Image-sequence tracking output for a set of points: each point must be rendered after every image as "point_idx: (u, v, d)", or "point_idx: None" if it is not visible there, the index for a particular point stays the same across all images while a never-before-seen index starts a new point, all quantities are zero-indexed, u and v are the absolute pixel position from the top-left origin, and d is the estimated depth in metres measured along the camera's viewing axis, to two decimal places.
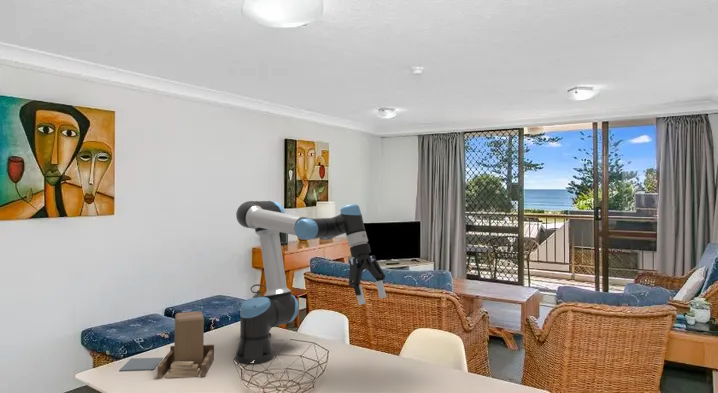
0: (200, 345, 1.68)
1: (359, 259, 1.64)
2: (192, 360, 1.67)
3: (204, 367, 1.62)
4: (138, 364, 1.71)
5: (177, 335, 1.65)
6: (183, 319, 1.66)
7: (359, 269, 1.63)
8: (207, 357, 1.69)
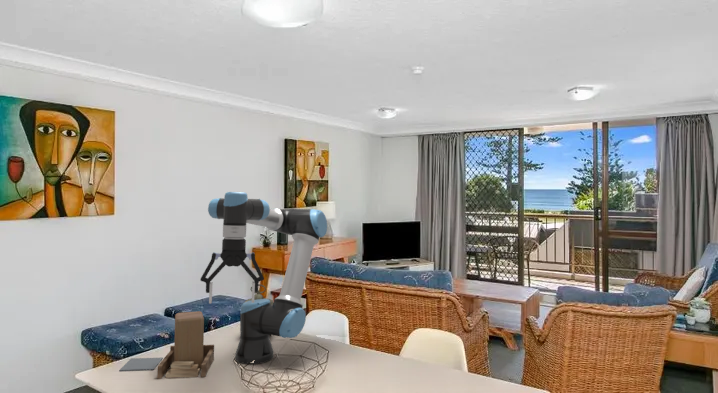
0: (200, 345, 1.68)
1: (222, 255, 1.47)
2: (192, 360, 1.67)
3: (204, 367, 1.62)
4: (138, 364, 1.71)
5: (177, 335, 1.65)
6: (183, 319, 1.66)
7: None
8: (207, 357, 1.69)
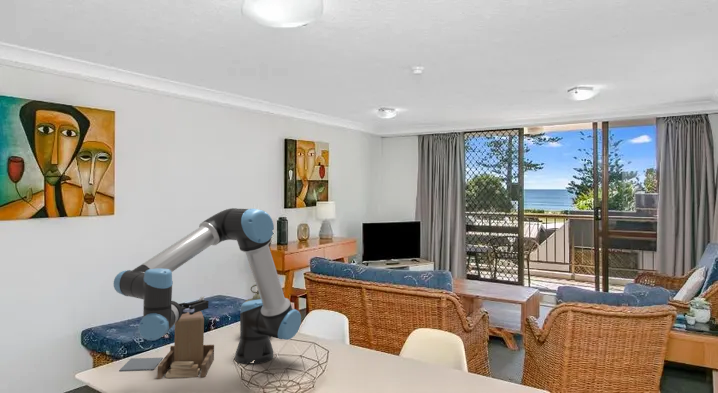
0: (200, 345, 1.68)
1: None
2: (192, 360, 1.67)
3: (204, 367, 1.62)
4: (138, 364, 1.71)
5: (177, 335, 1.65)
6: (183, 319, 1.66)
7: None
8: (207, 357, 1.69)
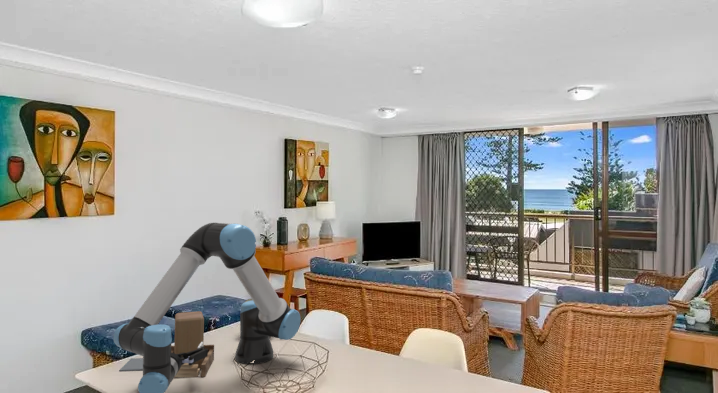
0: None
1: None
2: None
3: (204, 367, 1.62)
4: (138, 364, 1.71)
5: (177, 335, 1.65)
6: (183, 319, 1.66)
7: None
8: (207, 357, 1.69)
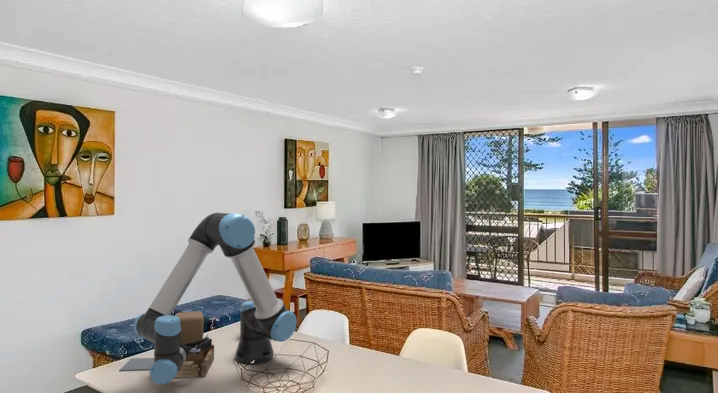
0: None
1: None
2: (192, 360, 1.67)
3: (204, 367, 1.62)
4: (138, 364, 1.71)
5: None
6: (183, 319, 1.66)
7: None
8: (207, 357, 1.69)
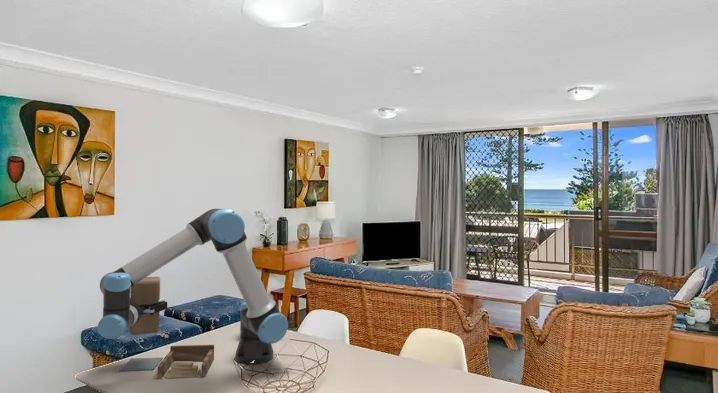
0: None
1: None
2: (148, 323, 1.67)
3: (204, 367, 1.62)
4: (138, 364, 1.71)
5: (133, 298, 1.65)
6: (138, 282, 1.66)
7: None
8: (207, 357, 1.69)
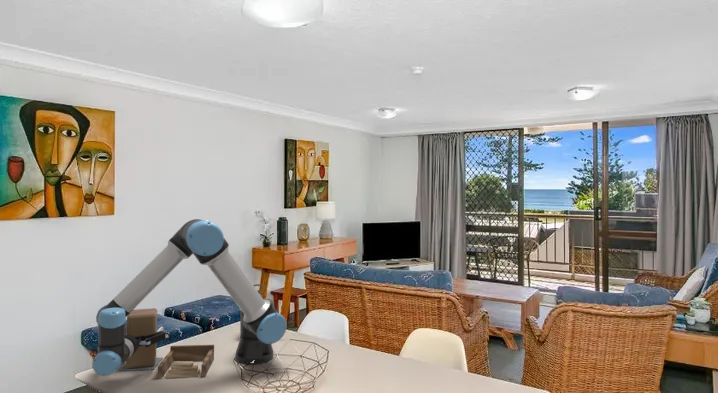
0: None
1: None
2: (144, 356, 1.68)
3: (204, 367, 1.62)
4: None
5: (129, 331, 1.66)
6: (135, 316, 1.67)
7: None
8: (207, 357, 1.69)
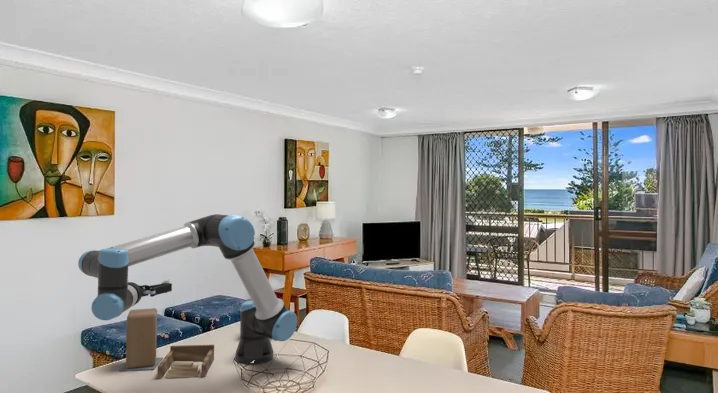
0: (152, 341, 1.69)
1: None
2: (144, 356, 1.68)
3: (204, 367, 1.62)
4: None
5: (129, 331, 1.66)
6: (134, 316, 1.67)
7: None
8: (207, 357, 1.69)
